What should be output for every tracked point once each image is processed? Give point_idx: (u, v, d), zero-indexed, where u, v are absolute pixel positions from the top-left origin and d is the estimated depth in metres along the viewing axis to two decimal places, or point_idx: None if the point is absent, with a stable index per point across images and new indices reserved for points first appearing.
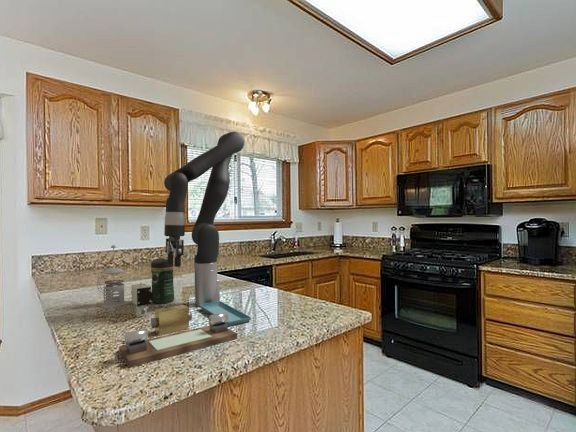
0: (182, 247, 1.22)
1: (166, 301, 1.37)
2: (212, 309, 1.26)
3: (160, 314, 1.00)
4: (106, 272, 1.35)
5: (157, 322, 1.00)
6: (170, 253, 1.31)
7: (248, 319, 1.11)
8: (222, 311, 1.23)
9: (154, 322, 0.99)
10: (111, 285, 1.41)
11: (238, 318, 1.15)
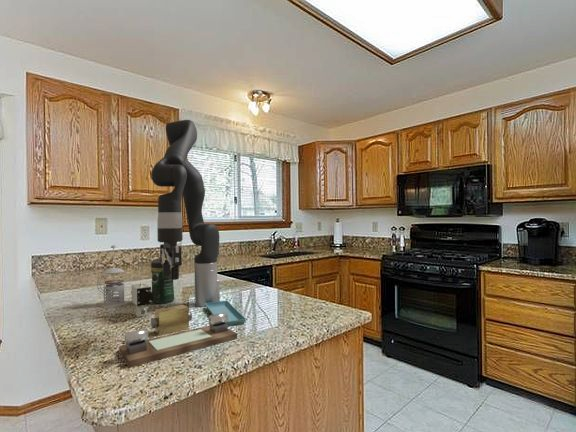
0: (180, 255, 0.99)
1: (166, 301, 1.37)
2: (216, 308, 1.27)
3: (160, 314, 1.00)
4: (106, 272, 1.35)
5: (157, 322, 1.00)
6: (166, 262, 1.07)
7: (242, 321, 1.09)
8: (225, 311, 1.24)
9: (154, 322, 0.99)
10: (111, 285, 1.41)
11: (236, 319, 1.14)
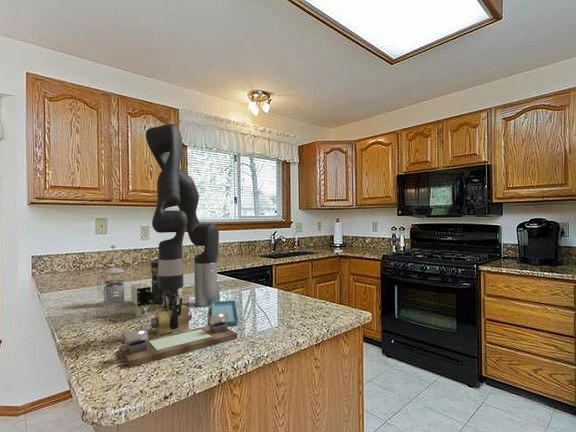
0: (180, 307, 1.00)
1: None
2: (222, 308, 1.28)
3: (160, 314, 1.00)
4: (106, 272, 1.35)
5: (157, 322, 1.00)
6: None
7: (235, 322, 1.07)
8: (227, 311, 1.24)
9: (154, 322, 0.99)
10: (111, 285, 1.41)
11: (232, 320, 1.13)
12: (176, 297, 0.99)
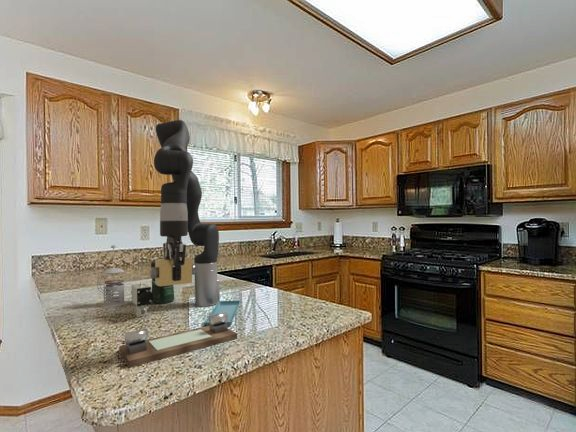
0: (183, 255, 0.89)
1: (166, 301, 1.37)
2: (226, 307, 1.28)
3: (161, 262, 0.89)
4: (106, 272, 1.35)
5: (157, 271, 0.89)
6: None
7: (228, 323, 1.07)
8: (230, 311, 1.24)
9: (154, 271, 0.89)
10: (111, 285, 1.41)
11: (228, 320, 1.12)
12: (179, 244, 0.89)
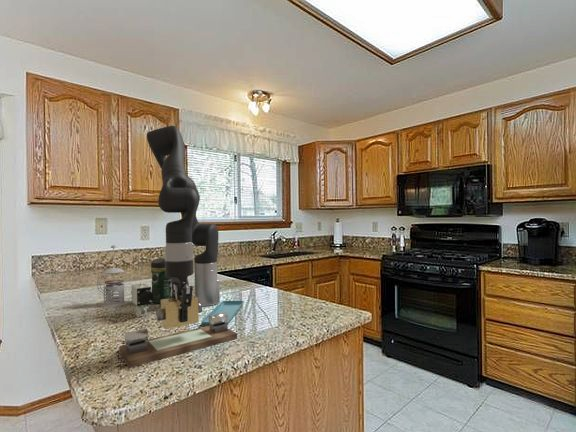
0: (190, 297, 0.87)
1: None
2: (229, 307, 1.28)
3: (167, 304, 0.87)
4: (106, 272, 1.35)
5: (163, 314, 0.87)
6: None
7: None
8: (231, 311, 1.24)
9: (160, 313, 0.87)
10: (111, 285, 1.41)
11: None
12: (186, 285, 0.87)
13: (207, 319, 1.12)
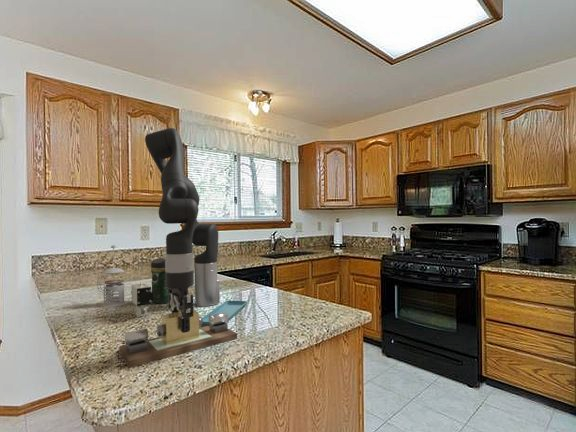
0: (191, 306, 0.87)
1: (166, 301, 1.37)
2: (231, 307, 1.28)
3: (167, 320, 0.87)
4: (106, 272, 1.35)
5: (164, 329, 0.87)
6: (175, 309, 0.94)
7: None
8: (232, 311, 1.23)
9: (161, 330, 0.87)
10: (111, 285, 1.41)
11: None
12: (186, 294, 0.87)
13: (205, 319, 1.12)
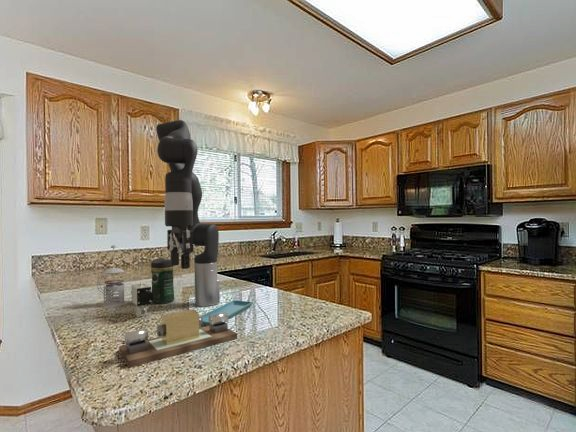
0: (191, 241, 0.87)
1: (166, 301, 1.37)
2: (236, 307, 1.28)
3: (167, 320, 0.87)
4: (106, 272, 1.35)
5: (164, 329, 0.87)
6: (174, 250, 0.95)
7: None
8: (234, 311, 1.23)
9: (161, 330, 0.87)
10: (111, 285, 1.41)
11: None
12: None
13: (203, 318, 1.13)
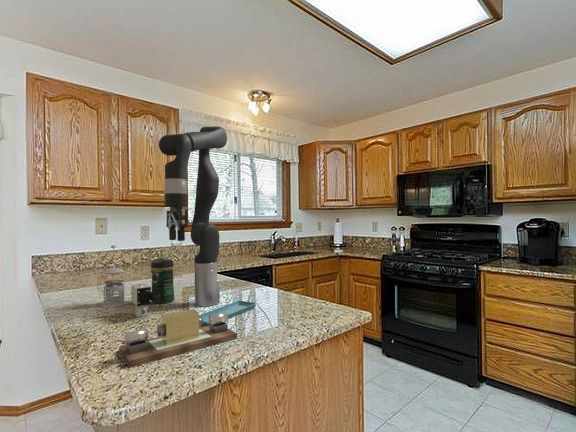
0: (186, 218, 1.06)
1: (166, 301, 1.37)
2: (239, 308, 1.27)
3: (167, 320, 0.87)
4: (106, 272, 1.35)
5: (164, 329, 0.87)
6: (172, 227, 1.15)
7: (207, 323, 1.07)
8: None
9: (161, 330, 0.87)
10: (111, 285, 1.41)
11: None
12: None
13: (202, 317, 1.15)
